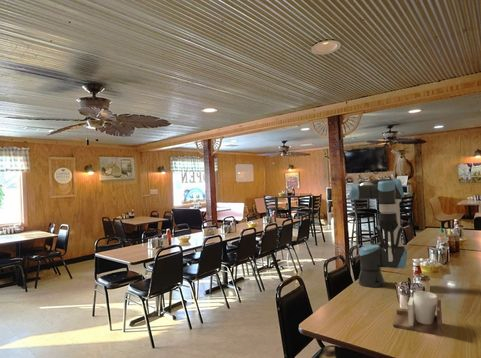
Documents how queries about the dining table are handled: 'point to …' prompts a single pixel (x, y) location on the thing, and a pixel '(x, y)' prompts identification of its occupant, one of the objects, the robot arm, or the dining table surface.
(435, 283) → the dining table surface
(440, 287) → the dining table surface
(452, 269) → the dining table surface
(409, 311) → the divider
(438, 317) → the rack
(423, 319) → the cup
